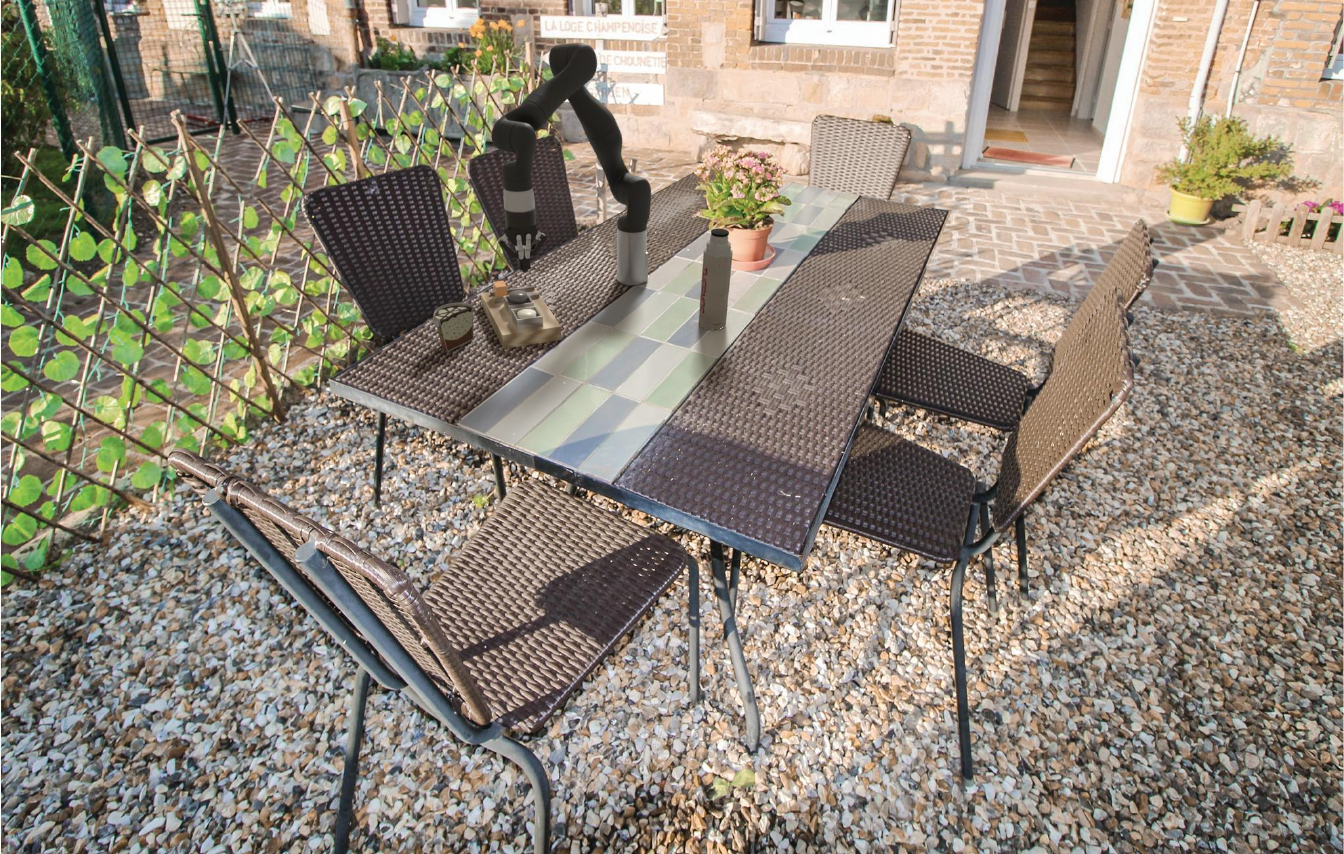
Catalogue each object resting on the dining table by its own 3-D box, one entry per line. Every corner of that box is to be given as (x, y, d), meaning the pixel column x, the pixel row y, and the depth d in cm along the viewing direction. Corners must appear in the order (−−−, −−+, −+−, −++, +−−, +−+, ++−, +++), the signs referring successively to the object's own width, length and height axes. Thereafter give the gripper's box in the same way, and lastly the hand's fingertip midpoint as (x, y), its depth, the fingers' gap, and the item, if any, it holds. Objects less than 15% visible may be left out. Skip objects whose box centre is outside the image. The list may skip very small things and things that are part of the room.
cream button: (533, 313, 205) (533, 307, 204) (538, 321, 201) (538, 315, 200) (515, 316, 203) (515, 310, 202) (520, 324, 199) (519, 318, 198)
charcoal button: (524, 295, 211) (524, 289, 210) (529, 302, 207) (529, 296, 206) (507, 297, 209) (507, 291, 208) (511, 304, 205) (511, 298, 204)
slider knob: (504, 293, 217) (503, 280, 215) (507, 299, 214) (506, 286, 212) (494, 294, 216) (493, 282, 214) (497, 300, 213) (496, 287, 211)
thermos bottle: (700, 330, 212) (707, 236, 196) (697, 318, 219) (703, 225, 203) (727, 330, 213) (736, 236, 197) (723, 318, 220) (732, 226, 204)
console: (534, 298, 225) (533, 277, 221) (561, 339, 204) (560, 316, 200) (481, 305, 219) (479, 283, 215) (503, 348, 198) (501, 325, 194)
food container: (462, 330, 206) (458, 297, 200) (477, 337, 203) (474, 304, 197) (427, 347, 197) (421, 313, 192) (442, 354, 195) (437, 320, 189)
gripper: (541, 199, 190) (545, 262, 200) (489, 203, 185) (496, 269, 195) (549, 208, 184) (553, 273, 194) (496, 213, 180) (503, 280, 190)
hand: (524, 271), depth 195 cm, fingers closed
